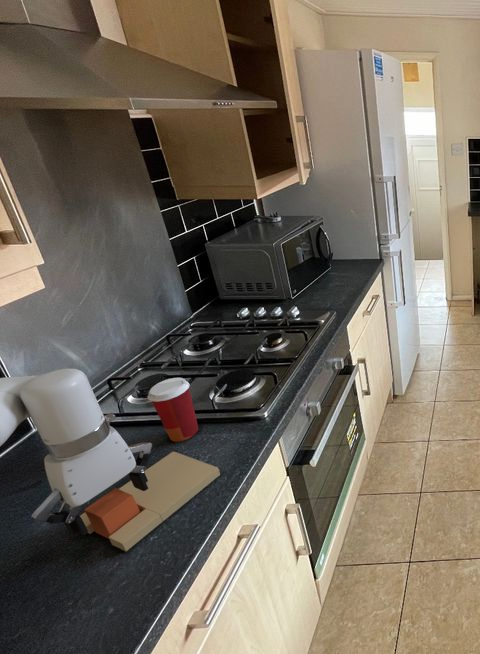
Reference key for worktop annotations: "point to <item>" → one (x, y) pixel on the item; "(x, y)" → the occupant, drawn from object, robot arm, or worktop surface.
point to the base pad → (161, 495)
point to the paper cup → (175, 408)
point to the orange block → (112, 512)
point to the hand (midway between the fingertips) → (112, 508)
